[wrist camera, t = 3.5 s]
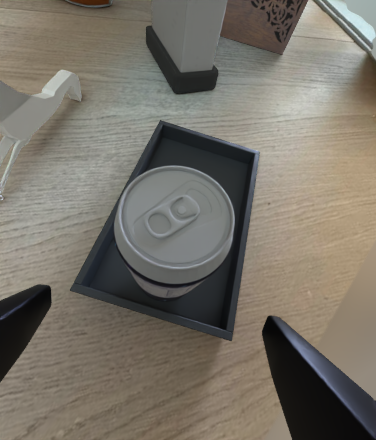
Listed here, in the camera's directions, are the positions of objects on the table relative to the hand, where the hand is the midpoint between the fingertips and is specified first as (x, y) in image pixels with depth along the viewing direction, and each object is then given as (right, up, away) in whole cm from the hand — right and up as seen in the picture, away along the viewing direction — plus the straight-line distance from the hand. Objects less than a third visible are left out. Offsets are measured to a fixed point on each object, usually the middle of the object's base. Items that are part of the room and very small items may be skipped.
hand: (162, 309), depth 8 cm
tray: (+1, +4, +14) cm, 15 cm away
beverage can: (-1, -1, +11) cm, 11 cm away
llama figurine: (-17, +13, +16) cm, 26 cm away
